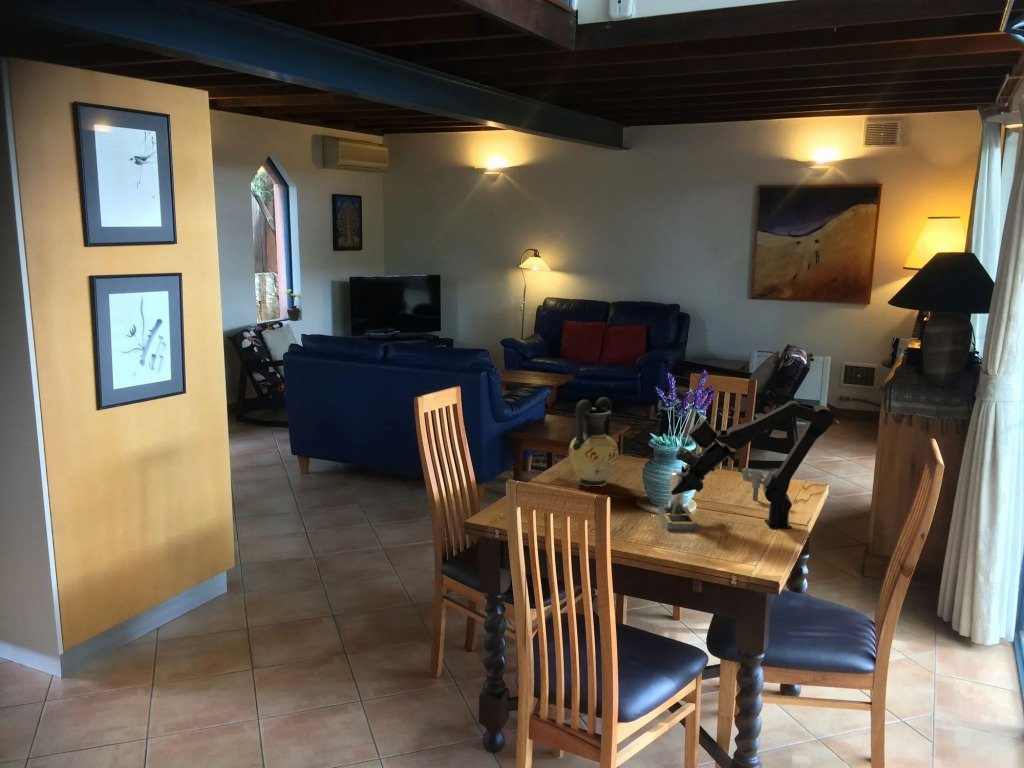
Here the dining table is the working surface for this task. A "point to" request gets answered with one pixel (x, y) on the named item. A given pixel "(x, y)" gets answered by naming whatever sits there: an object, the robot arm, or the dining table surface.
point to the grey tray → (678, 520)
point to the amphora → (593, 443)
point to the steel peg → (676, 500)
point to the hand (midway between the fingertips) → (671, 491)
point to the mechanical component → (753, 479)
